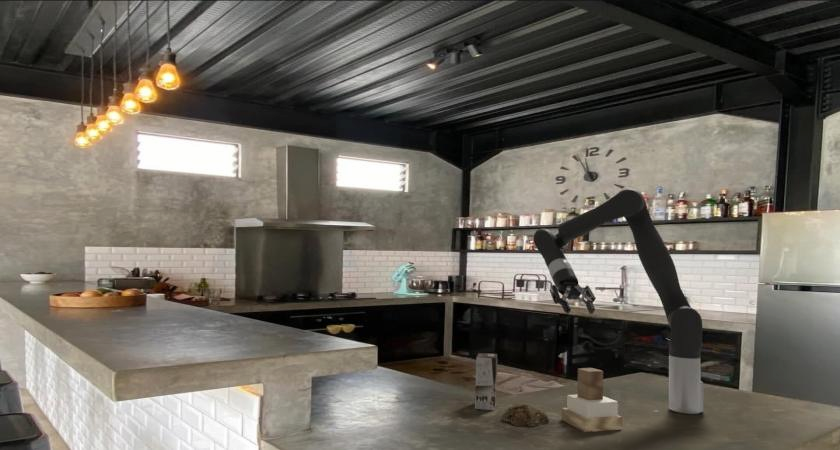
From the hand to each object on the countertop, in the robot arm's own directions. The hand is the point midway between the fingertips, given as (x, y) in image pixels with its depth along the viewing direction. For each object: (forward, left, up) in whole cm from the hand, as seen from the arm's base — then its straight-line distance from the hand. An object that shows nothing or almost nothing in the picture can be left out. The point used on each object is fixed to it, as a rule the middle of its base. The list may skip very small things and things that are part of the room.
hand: (580, 312), depth 181 cm
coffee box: (+28, -9, -31) cm, 43 cm away
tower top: (+5, +15, -27) cm, 32 cm away
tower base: (+6, +15, -31) cm, 35 cm away
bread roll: (+23, +8, -31) cm, 40 cm away
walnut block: (+6, +14, -23) cm, 28 cm away
